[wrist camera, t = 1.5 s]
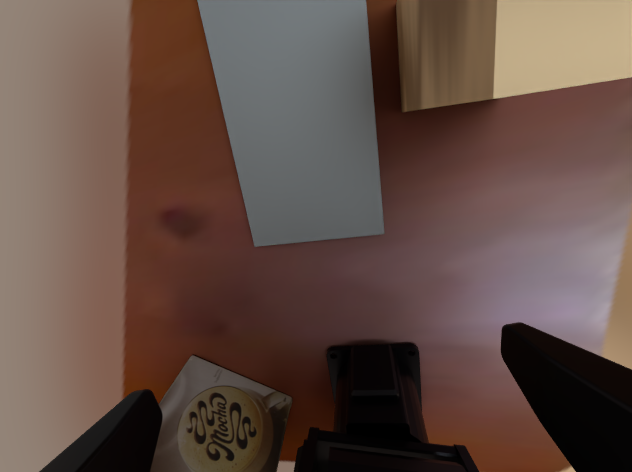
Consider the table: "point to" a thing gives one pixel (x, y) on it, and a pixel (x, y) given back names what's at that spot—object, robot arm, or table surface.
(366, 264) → the table surface
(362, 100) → the slate board
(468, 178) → the table surface
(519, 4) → the block
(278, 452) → the coffee box
